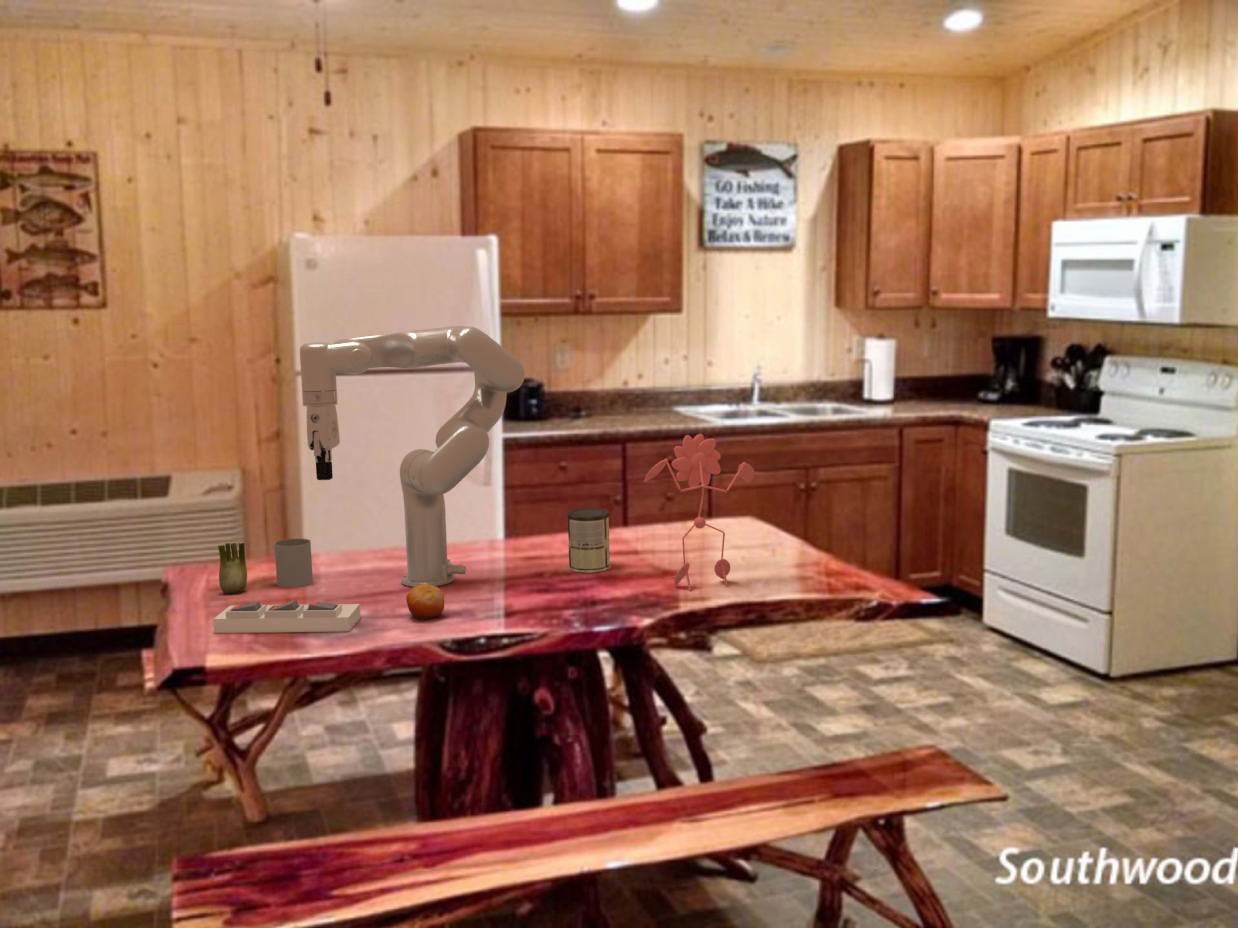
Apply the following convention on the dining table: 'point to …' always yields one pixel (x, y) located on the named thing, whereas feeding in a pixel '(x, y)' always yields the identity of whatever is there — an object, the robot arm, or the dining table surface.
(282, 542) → the cup
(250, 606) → the rocker
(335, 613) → the power strip
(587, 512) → the coffee can
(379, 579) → the dining table surface
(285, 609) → the rocker middle
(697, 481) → the figurine
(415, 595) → the fruit
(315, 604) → the rocker
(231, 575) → the fennel bulb
